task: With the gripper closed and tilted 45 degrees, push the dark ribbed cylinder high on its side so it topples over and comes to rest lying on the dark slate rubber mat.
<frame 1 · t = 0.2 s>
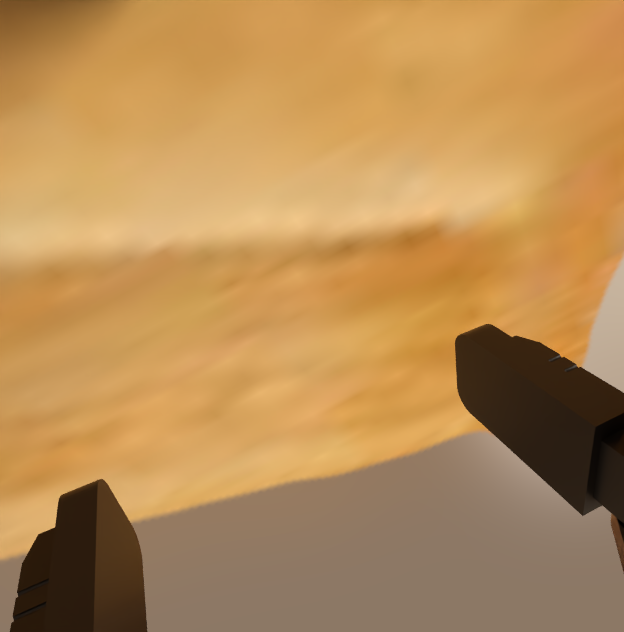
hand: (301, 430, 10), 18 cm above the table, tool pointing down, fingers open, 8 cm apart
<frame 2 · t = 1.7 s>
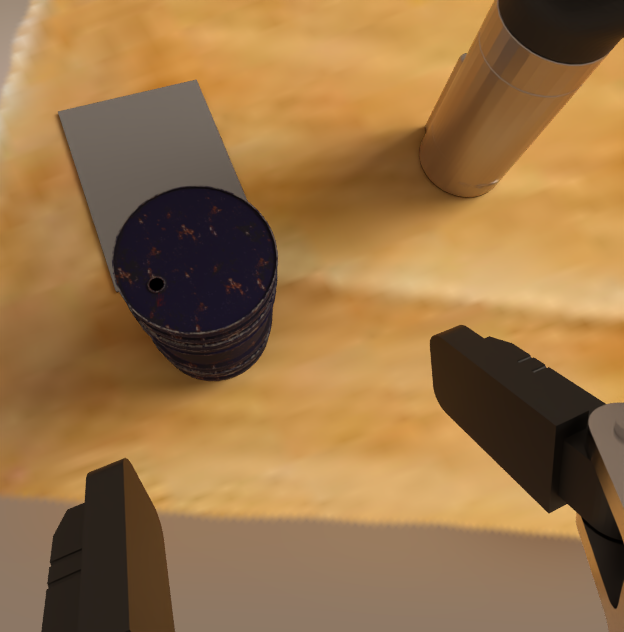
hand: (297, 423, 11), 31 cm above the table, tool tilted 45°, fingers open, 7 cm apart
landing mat: (160, 178, 46), on the table
dark ribbed cylinder: (215, 327, 43), on the table
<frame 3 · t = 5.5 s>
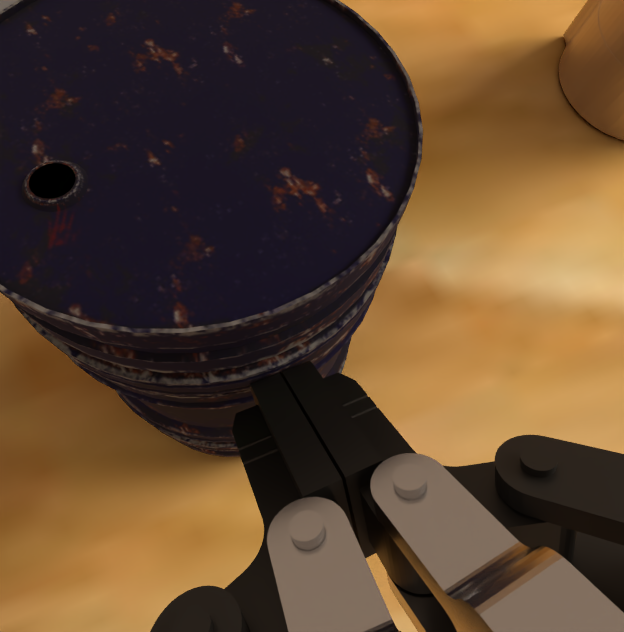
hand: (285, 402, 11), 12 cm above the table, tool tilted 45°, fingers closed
dark ribbed cylinder: (238, 355, 23), on the table, touching gripper
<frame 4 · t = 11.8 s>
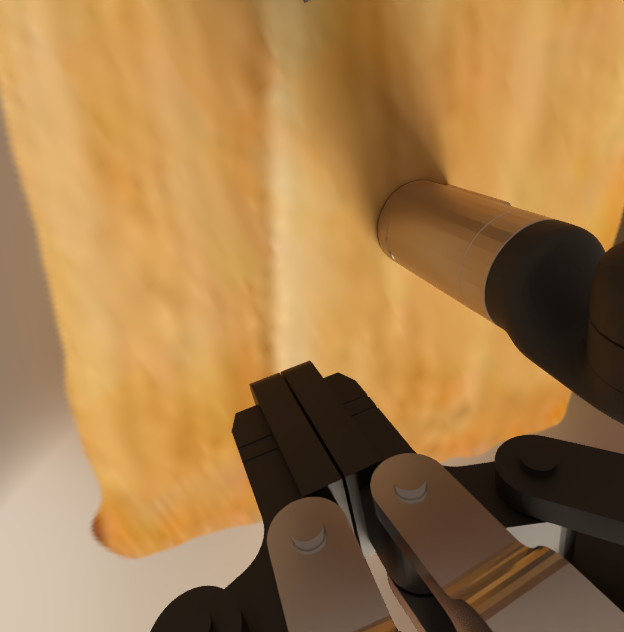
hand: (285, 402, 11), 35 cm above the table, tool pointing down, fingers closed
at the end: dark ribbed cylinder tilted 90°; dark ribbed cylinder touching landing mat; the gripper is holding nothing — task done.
